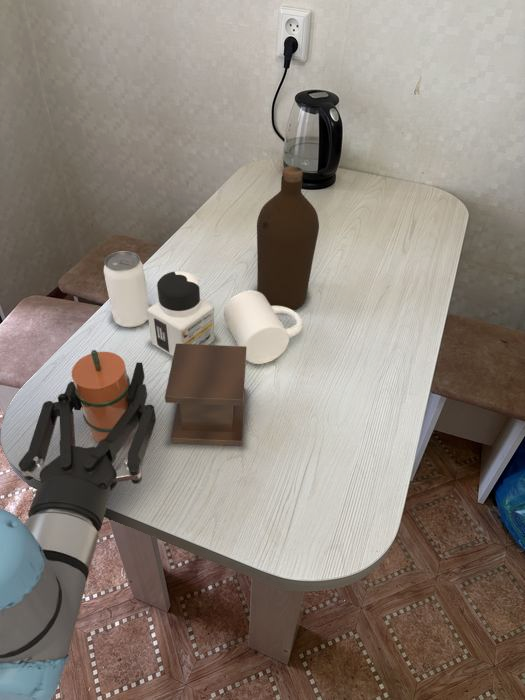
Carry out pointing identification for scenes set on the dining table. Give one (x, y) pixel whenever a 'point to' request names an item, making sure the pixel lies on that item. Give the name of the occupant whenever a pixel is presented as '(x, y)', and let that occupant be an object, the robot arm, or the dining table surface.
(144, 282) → the can
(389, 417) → the dining table surface
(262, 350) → the mug
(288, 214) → the olive oil
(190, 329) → the container
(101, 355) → the banded candle
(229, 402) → the stand
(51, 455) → the dining table surface
